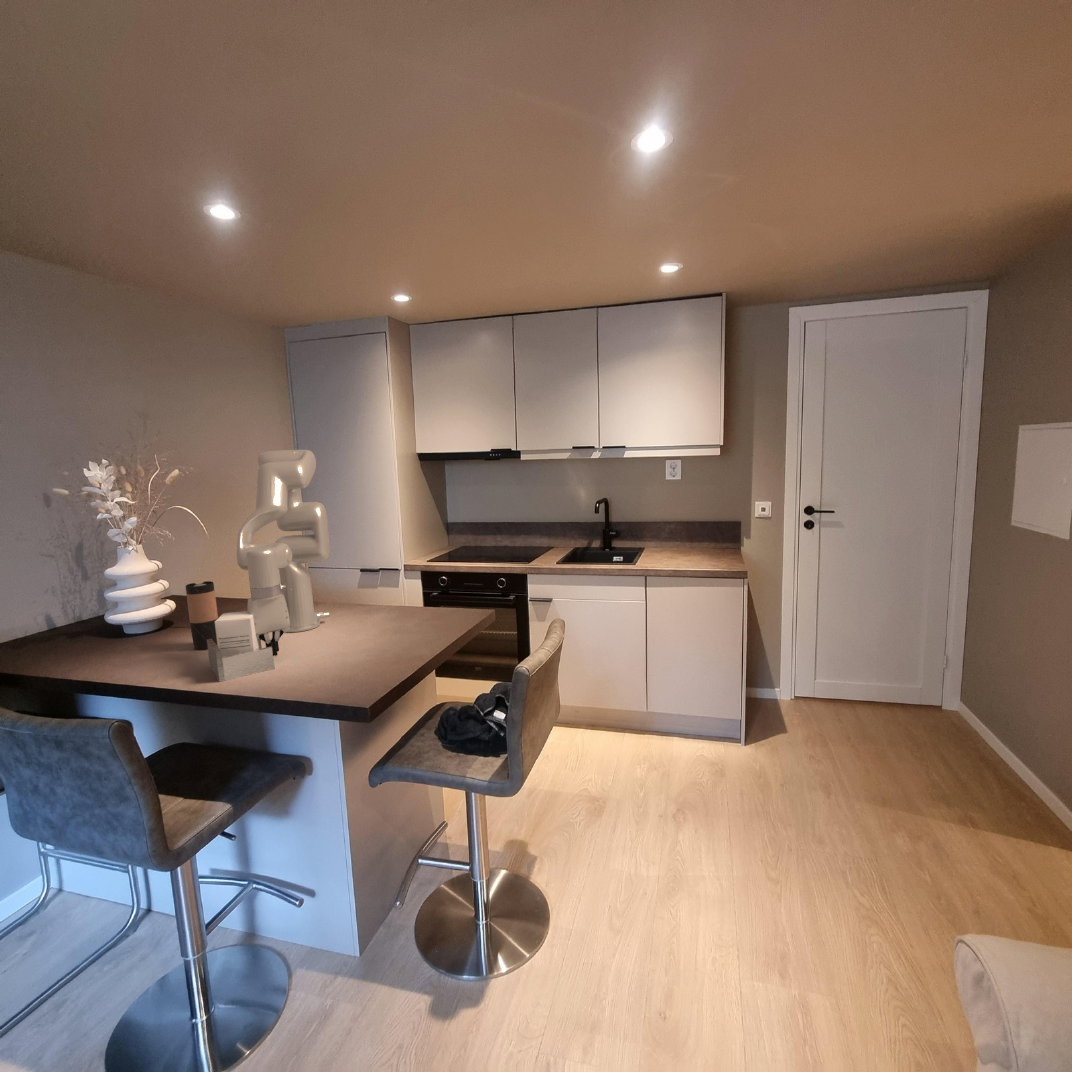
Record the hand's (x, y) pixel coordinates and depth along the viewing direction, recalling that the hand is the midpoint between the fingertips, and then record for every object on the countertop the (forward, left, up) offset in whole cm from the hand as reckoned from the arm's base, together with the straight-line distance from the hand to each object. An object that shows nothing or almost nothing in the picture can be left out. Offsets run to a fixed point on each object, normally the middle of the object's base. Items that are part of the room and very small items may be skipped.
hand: (273, 654), depth 160 cm
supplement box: (+8, 0, -2) cm, 8 cm away
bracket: (+8, 0, -2) cm, 8 cm away
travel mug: (+12, -30, -2) cm, 32 cm away
